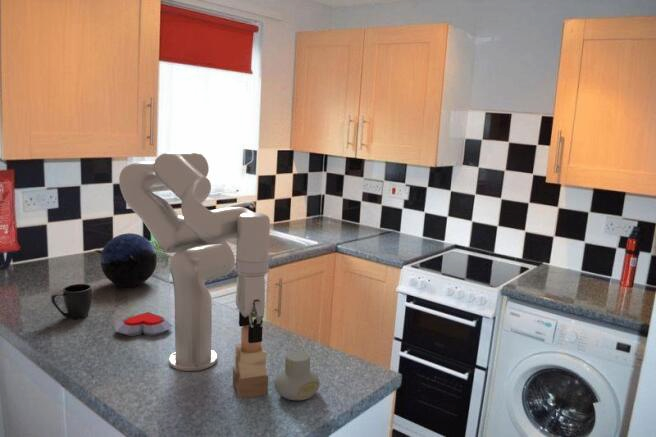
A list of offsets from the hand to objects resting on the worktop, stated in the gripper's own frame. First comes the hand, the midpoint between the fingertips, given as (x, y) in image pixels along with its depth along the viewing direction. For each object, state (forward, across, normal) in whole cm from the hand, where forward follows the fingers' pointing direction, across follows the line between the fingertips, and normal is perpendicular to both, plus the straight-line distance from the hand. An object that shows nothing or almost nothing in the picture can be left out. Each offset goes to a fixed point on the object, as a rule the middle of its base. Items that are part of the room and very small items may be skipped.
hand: (250, 333), depth 128 cm
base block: (+14, +1, 0) cm, 15 cm away
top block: (+10, +1, 0) cm, 10 cm away
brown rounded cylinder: (+4, +1, 0) cm, 4 cm away
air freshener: (+14, +6, +10) cm, 19 cm away
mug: (+16, -59, -43) cm, 75 cm away
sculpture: (+16, -44, -22) cm, 52 cm away
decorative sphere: (+16, -88, -25) cm, 93 cm away
